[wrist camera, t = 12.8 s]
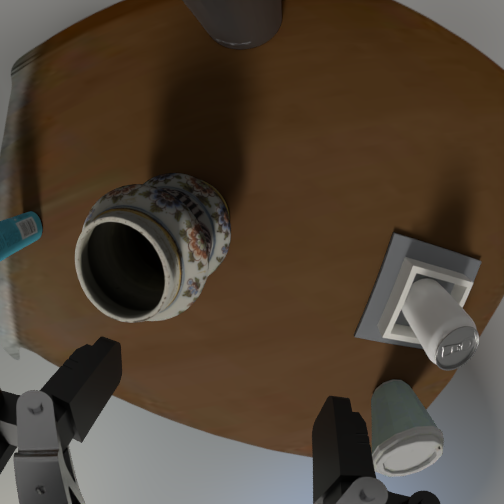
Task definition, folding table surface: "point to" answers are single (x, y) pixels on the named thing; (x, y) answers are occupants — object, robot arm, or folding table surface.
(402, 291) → the board
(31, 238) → the tube
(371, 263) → the folding table surface
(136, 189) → the apothecary jar
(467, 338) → the can
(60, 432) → the robot arm
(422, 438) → the disposable coffee cup
